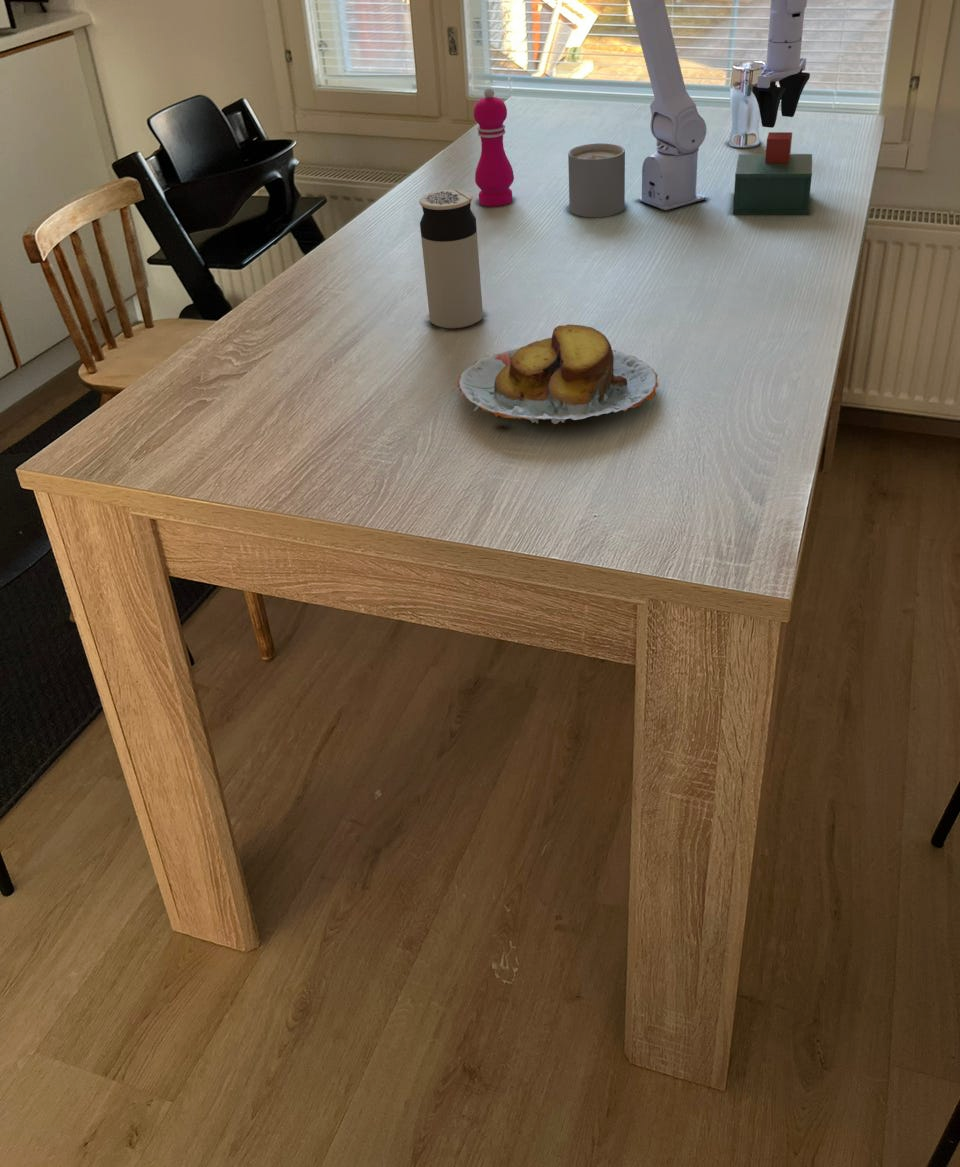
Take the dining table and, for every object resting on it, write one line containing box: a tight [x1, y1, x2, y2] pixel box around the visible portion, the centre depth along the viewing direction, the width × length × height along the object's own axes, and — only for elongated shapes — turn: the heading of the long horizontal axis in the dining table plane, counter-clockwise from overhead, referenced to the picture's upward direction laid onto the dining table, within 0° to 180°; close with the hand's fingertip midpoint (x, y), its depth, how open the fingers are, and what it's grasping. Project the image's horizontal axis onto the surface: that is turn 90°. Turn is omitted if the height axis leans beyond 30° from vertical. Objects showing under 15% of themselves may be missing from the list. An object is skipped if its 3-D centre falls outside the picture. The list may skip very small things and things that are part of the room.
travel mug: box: [418, 189, 484, 330], centre depth 162 cm, size 8×8×18 cm
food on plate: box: [457, 324, 659, 428], centre depth 143 cm, size 25×25×7 cm
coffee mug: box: [567, 142, 626, 218], centre depth 202 cm, size 13×10×10 cm
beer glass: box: [728, 60, 766, 149], centre depth 225 cm, size 7×7×15 cm
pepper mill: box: [473, 87, 515, 208], centre depth 205 cm, size 7×7×20 cm
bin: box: [732, 177, 812, 216], centre depth 197 cm, size 11×13×6 cm
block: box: [765, 131, 793, 163], centre depth 195 cm, size 4×4×4 cm
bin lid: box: [734, 153, 813, 179], centre depth 194 cm, size 11×13×1 cm
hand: (778, 121), depth 203 cm, fingers open, 7 cm apart
